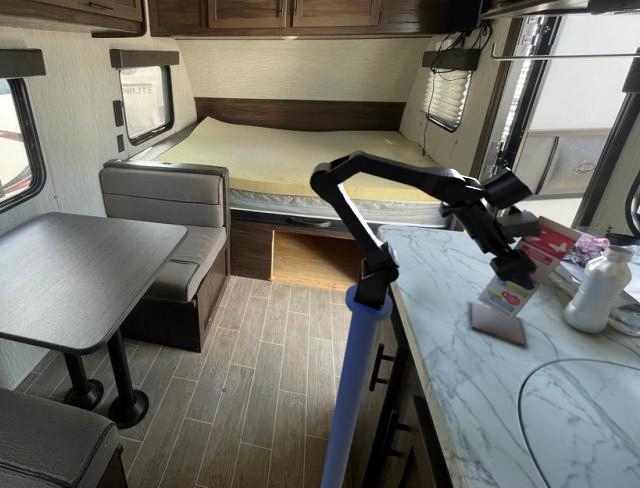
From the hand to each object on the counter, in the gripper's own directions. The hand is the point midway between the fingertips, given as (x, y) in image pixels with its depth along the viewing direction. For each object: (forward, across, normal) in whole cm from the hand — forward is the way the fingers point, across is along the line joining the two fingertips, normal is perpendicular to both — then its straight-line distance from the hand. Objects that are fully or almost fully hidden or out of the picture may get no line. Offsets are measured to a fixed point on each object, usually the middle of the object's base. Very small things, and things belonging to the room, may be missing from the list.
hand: (521, 275), depth 68 cm
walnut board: (+8, -2, +10) cm, 13 cm away
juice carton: (+5, 0, +7) cm, 9 cm away
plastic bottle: (+21, +4, -2) cm, 21 cm away
